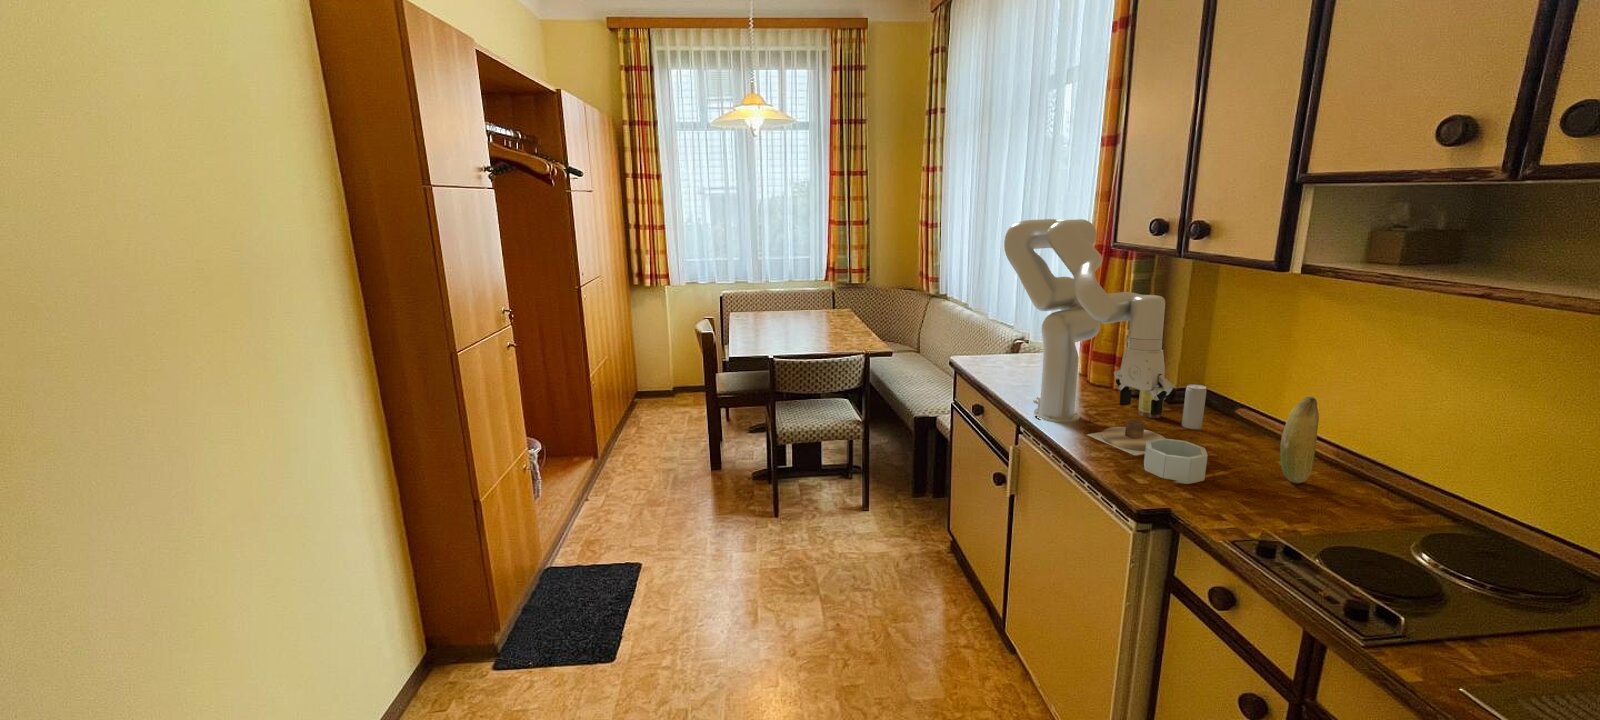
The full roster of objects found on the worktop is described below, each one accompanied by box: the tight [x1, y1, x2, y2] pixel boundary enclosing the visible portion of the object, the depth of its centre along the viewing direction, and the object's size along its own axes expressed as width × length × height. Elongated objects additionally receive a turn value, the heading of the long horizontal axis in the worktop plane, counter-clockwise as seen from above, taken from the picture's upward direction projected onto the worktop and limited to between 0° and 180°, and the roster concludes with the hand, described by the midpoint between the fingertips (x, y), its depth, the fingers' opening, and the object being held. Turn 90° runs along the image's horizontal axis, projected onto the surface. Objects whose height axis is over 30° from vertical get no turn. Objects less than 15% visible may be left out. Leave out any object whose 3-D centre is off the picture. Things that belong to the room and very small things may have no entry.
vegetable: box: [1279, 396, 1320, 484], centre depth 142 cm, size 6×6×20 cm
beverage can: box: [1181, 383, 1207, 430], centre depth 177 cm, size 5×5×12 cm
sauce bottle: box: [1137, 349, 1167, 419], centre depth 187 cm, size 7×6×20 cm
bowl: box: [1143, 437, 1209, 485], centre depth 150 cm, size 12×12×6 cm
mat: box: [1086, 431, 1145, 456], centre depth 169 cm, size 16×16×1 cm
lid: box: [1101, 419, 1165, 451], centre depth 169 cm, size 15×15×5 cm
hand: (1140, 409), depth 166 cm, fingers open, 9 cm apart
